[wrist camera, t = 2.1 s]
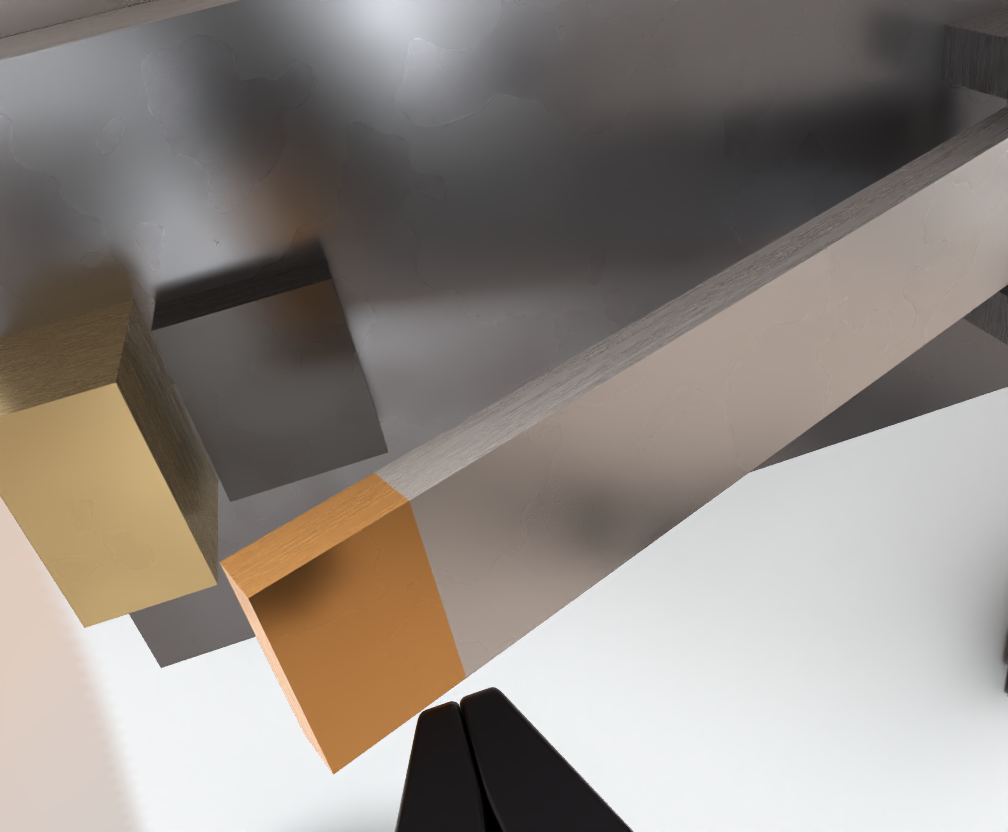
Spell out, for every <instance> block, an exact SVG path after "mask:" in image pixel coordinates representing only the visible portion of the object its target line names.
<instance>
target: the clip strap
mask: <svg viewBox="0 0 1008 832" xmlns="http://www.w3.org/2000/svg"><path fill="white" fill-rule="evenodd" d="M1006 285H1008V100H1007V104H1006V107H1004V108H1003V109H1001V110H999V111H997V112H996V113H994V114H992V115H990V116H989V117H987V118H985V119H984V120H982V121H980V122H978V123H977V124H975V125H973V126H971V127H970V128H968V129H966V130H965V131H963V132H961V133H959V134H958V135H956V136H954V137H952V138H951V139H949V140H947V141H946V142H944V143H942V144H940V145H939V146H937V147H935V148H934V149H932V150H930V151H928V152H927V153H925V154H923V155H921V156H920V157H918V158H916V159H915V160H913V161H911V162H909V163H908V164H906V165H904V166H902V167H901V168H899V169H897V170H896V171H894V172H892V173H890V174H889V175H887V176H885V177H883V178H882V179H880V180H878V181H877V182H875V183H873V184H871V185H870V186H868V187H866V188H864V189H863V190H861V191H859V192H858V193H856V194H854V195H852V196H851V197H849V198H847V199H845V200H844V201H842V202H840V203H839V204H837V205H835V206H833V207H832V208H830V209H828V210H826V211H825V212H823V213H821V214H820V215H818V216H816V217H814V218H813V219H811V220H809V221H807V222H806V223H804V224H802V225H801V226H799V227H797V228H795V229H794V230H792V231H790V232H788V233H787V234H785V235H783V236H782V237H780V238H778V239H776V240H775V241H773V242H771V243H770V244H768V245H766V246H764V247H763V248H761V249H759V250H757V251H756V252H754V253H752V254H751V255H749V256H747V257H745V258H744V259H742V260H740V261H738V262H737V263H735V264H733V265H732V266H730V267H728V268H726V269H725V270H723V271H721V272H719V273H718V274H716V275H714V276H713V277H711V278H709V279H707V280H706V281H704V282H702V283H700V284H699V285H697V286H695V287H694V288H692V289H690V290H688V291H687V292H685V293H683V294H681V295H680V296H678V297H676V298H675V299H673V300H671V301H669V302H668V303H666V304H664V305H662V306H661V307H659V308H657V309H656V310H654V311H652V312H650V313H649V314H647V315H645V316H643V317H642V318H640V319H638V320H637V321H635V322H633V323H631V324H630V325H628V326H626V327H624V328H623V329H621V330H619V331H618V332H616V333H614V334H612V335H611V336H609V337H607V338H605V339H604V340H602V341H600V342H599V343H597V344H595V345H593V346H592V347H590V348H588V349H587V350H585V351H583V352H581V353H580V354H578V355H576V356H574V357H573V358H571V359H569V360H568V361H566V362H564V363H562V364H561V365H559V366H557V367H555V368H554V369H552V370H550V371H549V372H547V373H545V374H543V375H542V376H540V377H538V378H536V379H535V380H533V381H531V382H530V383H528V384H526V385H524V386H523V387H521V388H519V389H517V390H516V391H514V392H512V393H511V394H509V395H507V396H505V397H504V398H502V399H500V400H498V401H497V402H495V403H493V404H492V405H490V406H488V407H486V408H485V409H483V410H481V411H479V412H478V413H476V414H474V415H473V416H471V417H469V418H467V419H466V420H464V421H462V422H460V423H459V424H457V425H455V426H454V427H452V428H450V429H448V430H447V431H445V432H443V433H441V434H440V435H438V436H436V437H435V438H433V439H431V440H429V441H428V442H426V443H424V444H422V445H421V446H419V447H417V448H416V449H414V450H412V451H410V452H409V453H407V454H405V455H404V456H402V457H400V458H398V459H397V460H395V461H393V462H391V463H390V464H388V465H386V466H385V467H383V468H381V469H379V470H378V471H376V472H374V473H372V474H371V475H369V476H367V477H366V478H364V479H362V480H360V481H359V482H357V483H355V484H353V485H352V486H350V487H348V488H347V489H345V490H343V491H341V492H340V493H338V494H336V495H334V496H333V497H331V498H329V499H328V500H326V501H324V502H322V503H321V504H319V505H317V506H315V507H314V508H312V509H310V510H309V511H307V512H305V513H303V514H302V515H300V516H298V517H296V518H295V519H293V520H291V521H290V522H288V523H286V524H284V525H283V526H281V527H279V528H277V529H276V530H274V531H272V532H271V533H269V534H267V535H265V536H264V537H262V538H260V539H258V540H257V541H255V542H253V543H252V544H250V545H248V546H246V547H245V548H243V549H241V550H240V551H238V552H236V553H234V554H233V555H231V556H229V557H227V558H226V559H224V560H222V561H221V562H220V564H221V566H222V568H223V570H224V572H225V574H226V576H227V578H228V580H229V582H230V585H231V587H232V589H233V591H234V593H235V595H236V597H237V599H238V601H239V603H240V605H241V607H242V609H243V611H244V613H245V615H246V617H247V619H248V621H249V623H250V625H251V627H252V629H253V631H254V633H255V635H256V637H257V639H258V641H259V643H260V645H261V647H262V649H263V651H264V653H265V655H266V657H267V659H268V661H269V664H270V666H271V668H272V670H273V672H274V674H275V676H276V678H277V680H278V682H279V684H280V686H281V688H282V690H283V692H284V694H285V696H286V698H287V700H288V702H289V704H290V706H291V708H292V710H293V712H294V714H295V716H296V718H297V720H298V722H299V724H300V726H301V728H302V730H303V732H304V734H305V736H306V737H307V739H308V740H309V741H310V743H311V744H312V745H313V747H314V748H315V750H316V751H317V752H318V754H319V755H320V757H321V758H322V759H323V761H324V762H325V763H326V765H327V766H328V768H329V769H330V770H331V772H332V773H333V774H335V773H336V772H337V771H339V770H340V769H342V768H343V767H344V766H346V765H347V764H348V763H350V762H351V761H353V760H354V759H355V758H357V757H358V756H359V755H361V754H362V753H364V752H365V751H366V750H368V749H369V748H371V747H372V746H373V745H375V744H376V743H377V742H379V741H380V740H382V739H383V738H384V737H386V736H387V735H388V734H390V733H391V732H393V731H394V730H395V729H397V728H398V727H399V726H401V725H402V724H404V723H405V722H406V721H408V720H409V719H410V718H412V717H413V716H415V715H416V714H417V713H419V712H420V711H421V710H423V709H424V708H426V707H427V706H428V705H430V704H431V703H432V702H434V701H435V700H437V699H438V698H439V697H441V696H442V695H443V694H445V693H446V692H448V691H449V690H450V689H452V688H453V687H454V686H456V685H457V684H459V683H460V682H461V681H463V680H464V679H465V678H467V677H468V676H470V675H471V674H472V673H474V672H475V671H476V670H478V669H479V668H481V667H482V666H483V665H485V664H486V663H487V662H489V661H490V660H492V659H493V658H494V657H496V656H497V655H498V654H500V653H501V652H503V651H504V650H505V649H507V648H508V647H509V646H511V645H512V644H514V643H515V642H516V641H518V640H519V639H521V638H522V637H523V636H525V635H526V634H527V633H529V632H530V631H532V630H533V629H534V628H536V627H537V626H538V625H540V624H541V623H543V622H544V621H545V620H547V619H548V618H549V617H551V616H552V615H554V614H555V613H556V612H558V611H559V610H560V609H562V608H563V607H565V606H566V605H567V604H569V603H570V602H571V601H573V600H574V599H576V598H577V597H578V596H580V595H581V594H582V593H584V592H585V591H587V590H588V589H589V588H591V587H592V586H593V585H595V584H596V583H598V582H599V581H600V580H602V579H603V578H604V577H606V576H607V575H609V574H610V573H611V572H613V571H614V570H615V569H617V568H618V567H620V566H621V565H622V564H624V563H625V562H626V561H628V560H629V559H631V558H632V557H633V556H635V555H636V554H637V553H639V552H640V551H642V550H643V549H644V548H646V547H647V546H648V545H650V544H651V543H653V542H654V541H655V540H657V539H658V538H659V537H661V536H662V535H664V534H665V533H666V532H668V531H669V530H670V529H672V528H673V527H675V526H676V525H677V524H679V523H680V522H682V521H683V520H684V519H686V518H687V517H688V516H690V515H691V514H693V513H694V512H695V511H697V510H698V509H699V508H701V507H702V506H704V505H705V504H706V503H708V502H709V501H710V500H712V499H713V498H715V497H716V496H717V495H719V494H720V493H721V492H723V491H724V490H726V489H727V488H728V487H730V486H731V485H732V484H734V483H735V482H737V481H738V480H739V479H741V478H742V477H743V476H745V475H746V474H748V473H749V472H750V471H752V470H753V469H754V468H756V467H757V466H759V465H760V464H761V463H763V462H764V461H765V460H767V459H768V458H770V457H771V456H772V455H774V454H775V453H776V452H778V451H779V450H781V449H782V448H783V447H785V446H786V445H787V444H789V443H790V442H792V441H793V440H794V439H796V438H797V437H798V436H800V435H801V434H803V433H804V432H805V431H807V430H808V429H809V428H811V427H812V426H814V425H815V424H816V423H818V422H819V421H820V420H822V419H823V418H825V417H826V416H827V415H829V414H830V413H831V412H833V411H834V410H836V409H837V408H838V407H840V406H841V405H843V404H844V403H845V402H847V401H848V400H849V399H851V398H852V397H854V396H855V395H856V394H858V393H859V392H860V391H862V390H863V389H865V388H866V387H867V386H869V385H870V384H871V383H873V382H874V381H876V380H877V379H878V378H880V377H881V376H882V375H884V374H885V373H887V372H888V371H889V370H891V369H892V368H893V367H895V366H896V365H898V364H899V363H900V362H902V361H903V360H904V359H906V358H907V357H909V356H910V355H911V354H913V353H914V352H915V351H917V350H918V349H920V348H921V347H922V346H924V345H925V344H926V343H928V342H929V341H931V340H932V339H933V338H935V337H936V336H937V335H939V334H940V333H942V332H943V331H944V330H946V329H947V328H948V327H950V326H951V325H953V324H954V323H955V322H957V321H958V320H959V319H961V318H962V317H964V316H965V315H966V314H968V313H969V312H970V311H972V310H973V309H975V308H976V307H977V306H979V305H980V304H981V303H983V302H984V301H986V300H987V299H988V298H990V297H991V296H993V295H994V294H995V293H997V292H998V291H999V290H1001V289H1002V288H1004V287H1005V286H1006Z"/></svg>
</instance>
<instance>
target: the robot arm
mask: <svg viewBox="0 0 1008 832" xmlns="http://www.w3.org/2000/svg"><path fill="white" fill-rule="evenodd" d="M395 832H633V831H632V829H631V828H630V827H629V826H628V825H627V824H626V823H625V822H624V821H623V820H622V819H621V818H620V817H619V816H618V815H617V814H616V813H615V811H614V810H613V809H612V808H611V807H610V806H609V805H608V804H607V803H606V802H605V801H604V800H603V799H602V798H601V797H600V796H599V795H598V793H597V792H596V791H595V790H594V789H593V788H592V787H591V786H590V785H589V784H588V783H587V782H586V781H585V780H584V779H583V778H582V777H581V775H580V774H579V773H578V772H577V771H576V770H575V769H574V768H573V767H572V766H571V765H570V764H569V763H568V762H567V761H566V760H565V758H564V757H563V756H562V755H561V754H560V753H559V752H558V751H557V750H556V749H555V748H554V747H553V746H552V745H551V744H550V743H549V742H548V740H547V739H546V738H545V737H544V736H543V735H542V734H541V733H540V732H539V731H538V730H537V729H536V728H535V727H534V726H533V725H532V724H531V722H530V721H529V720H528V719H527V718H526V717H525V716H524V715H523V714H522V713H521V712H520V711H519V710H518V709H517V708H516V707H515V706H514V704H513V703H512V702H511V701H510V700H509V699H508V698H507V697H506V696H505V695H504V694H503V693H502V692H501V691H500V690H499V689H497V688H494V687H491V688H488V689H485V690H482V691H479V692H476V693H473V694H470V695H468V696H465V697H463V698H462V700H461V701H460V706H459V704H458V703H457V702H453V701H450V702H447V703H445V704H442V705H439V706H436V707H433V708H430V709H427V710H425V711H423V712H422V713H421V714H420V716H419V718H418V721H417V725H416V730H415V735H414V740H413V745H412V750H411V755H410V760H409V765H408V770H407V774H406V779H405V784H404V789H403V794H402V799H401V804H400V809H399V814H398V819H397V824H396V828H395Z"/></svg>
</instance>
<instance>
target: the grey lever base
mask: <svg viewBox="0 0 1008 832" xmlns="http://www.w3.org/2000/svg"><path fill="white" fill-rule="evenodd" d="M1007 100H1008V0H153V1H149V2H145V3H141V4H137V5H133V6H129V7H125V8H121V9H117V10H113V11H109V12H105V13H101V14H97V15H93V16H89V17H85V18H81V19H77V20H73V21H69V22H65V23H60V24H56V25H52V26H48V27H44V28H40V29H36V30H32V31H28V32H24V33H20V34H16V35H12V36H8V37H4V38H0V496H1V498H2V499H3V501H4V502H5V504H6V506H7V507H8V509H9V510H10V512H11V513H12V515H13V516H14V518H15V520H16V521H17V523H18V524H19V526H20V527H21V529H22V531H23V532H24V534H25V535H26V537H27V538H28V540H29V542H30V543H31V545H32V546H33V548H34V549H35V551H36V553H37V554H38V556H39V557H40V559H41V560H42V562H43V563H44V565H45V567H46V568H47V570H48V571H49V573H50V574H51V576H52V578H53V579H54V581H55V582H56V584H57V585H58V587H59V589H60V590H61V592H62V593H63V595H64V596H65V598H66V599H67V601H68V603H69V604H70V606H71V607H72V609H73V610H74V612H75V614H76V615H77V617H78V618H79V620H80V621H81V623H82V625H83V626H84V628H86V627H89V626H92V625H95V624H98V623H101V622H104V621H107V620H110V619H113V618H116V617H120V616H123V615H126V614H129V615H130V616H131V618H132V620H133V621H134V623H135V625H136V626H137V628H138V630H139V632H140V633H141V635H142V637H143V638H144V640H145V642H146V643H147V645H148V647H149V648H150V650H151V652H152V653H153V655H154V657H155V658H156V660H157V662H158V664H159V665H160V667H161V668H162V667H165V666H168V665H171V664H174V663H177V662H180V661H183V660H186V659H189V658H192V657H196V656H199V655H202V654H205V653H208V652H211V651H214V650H217V649H220V648H223V647H226V646H229V645H232V644H235V643H238V642H241V641H244V640H247V639H250V638H253V637H256V635H255V633H254V631H253V629H252V627H251V625H250V623H249V621H248V619H247V617H246V615H245V613H244V611H243V609H242V607H241V605H240V603H239V601H238V599H237V597H236V595H235V593H234V591H233V589H232V587H231V585H230V582H229V580H228V578H227V576H226V574H225V572H224V570H223V568H222V566H221V564H220V562H221V561H222V560H224V559H226V558H227V557H229V556H231V555H233V554H234V553H236V552H238V551H240V550H241V549H243V548H245V547H246V546H248V545H250V544H252V543H253V542H255V541H257V540H258V539H260V538H262V537H264V536H265V535H267V534H269V533H271V532H272V531H274V530H276V529H277V528H279V527H281V526H283V525H284V524H286V523H288V522H290V521H291V520H293V519H295V518H296V517H298V516H300V515H302V514H303V513H305V512H307V511H309V510H310V509H312V508H314V507H315V506H317V505H319V504H321V503H322V502H324V501H326V500H328V499H329V498H331V497H333V496H334V495H336V494H338V493H340V492H341V491H343V490H345V489H347V488H348V487H350V486H352V485H353V484H355V483H357V482H359V481H360V480H362V479H364V478H366V477H367V476H369V475H371V474H372V473H374V472H376V471H378V470H379V469H381V468H383V467H385V466H386V465H388V464H390V463H391V462H393V461H395V460H397V459H398V458H400V457H402V456H404V455H405V454H407V453H409V452H410V451H412V450H414V449H416V448H417V447H419V446H421V445H422V444H424V443H426V442H428V441H429V440H431V439H433V438H435V437H436V436H438V435H440V434H441V433H443V432H445V431H447V430H448V429H450V428H452V427H454V426H455V425H457V424H459V423H460V422H462V421H464V420H466V419H467V418H469V417H471V416H473V415H474V414H476V413H478V412H479V411H481V410H483V409H485V408H486V407H488V406H490V405H492V404H493V403H495V402H497V401H498V400H500V399H502V398H504V397H505V396H507V395H509V394H511V393H512V392H514V391H516V390H517V389H519V388H521V387H523V386H524V385H526V384H528V383H530V382H531V381H533V380H535V379H536V378H538V377H540V376H542V375H543V374H545V373H547V372H549V371H550V370H552V369H554V368H555V367H557V366H559V365H561V364H562V363H564V362H566V361H568V360H569V359H571V358H573V357H574V356H576V355H578V354H580V353H581V352H583V351H585V350H587V349H588V348H590V347H592V346H593V345H595V344H597V343H599V342H600V341H602V340H604V339H605V338H607V337H609V336H611V335H612V334H614V333H616V332H618V331H619V330H621V329H623V328H624V327H626V326H628V325H630V324H631V323H633V322H635V321H637V320H638V319H640V318H642V317H643V316H645V315H647V314H649V313H650V312H652V311H654V310H656V309H657V308H659V307H661V306H662V305H664V304H666V303H668V302H669V301H671V300H673V299H675V298H676V297H678V296H680V295H681V294H683V293H685V292H687V291H688V290H690V289H692V288H694V287H695V286H697V285H699V284H700V283H702V282H704V281H706V280H707V279H709V278H711V277H713V276H714V275H716V274H718V273H719V272H721V271H723V270H725V269H726V268H728V267H730V266H732V265H733V264H735V263H737V262H738V261H740V260H742V259H744V258H745V257H747V256H749V255H751V254H752V253H754V252H756V251H757V250H759V249H761V248H763V247H764V246H766V245H768V244H770V243H771V242H773V241H775V240H776V239H778V238H780V237H782V236H783V235H785V234H787V233H788V232H790V231H792V230H794V229H795V228H797V227H799V226H801V225H802V224H804V223H806V222H807V221H809V220H811V219H813V218H814V217H816V216H818V215H820V214H821V213H823V212H825V211H826V210H828V209H830V208H832V207H833V206H835V205H837V204H839V203H840V202H842V201H844V200H845V199H847V198H849V197H851V196H852V195H854V194H856V193H858V192H859V191H861V190H863V189H864V188H866V187H868V186H870V185H871V184H873V183H875V182H877V181H878V180H880V179H882V178H883V177H885V176H887V175H889V174H890V173H892V172H894V171H896V170H897V169H899V168H901V167H902V166H904V165H906V164H908V163H909V162H911V161H913V160H915V159H916V158H918V157H920V156H921V155H923V154H925V153H927V152H928V151H930V150H932V149H934V148H935V147H937V146H939V145H940V144H942V143H944V142H946V141H947V140H949V139H951V138H952V137H954V136H956V135H958V134H959V133H961V132H963V131H965V130H966V129H968V128H970V127H971V126H973V125H975V124H977V123H978V122H980V121H982V120H984V119H985V118H987V117H989V116H990V115H992V114H994V113H996V112H997V111H999V110H1001V109H1003V108H1004V107H1006V104H1007ZM1005 387H1008V285H1006V286H1005V287H1004V288H1002V289H1001V290H999V291H998V292H997V293H995V294H994V295H993V296H991V297H990V298H988V299H987V300H986V301H984V302H983V303H981V304H980V305H979V306H977V307H976V308H975V309H973V310H972V311H970V312H969V313H968V314H966V315H965V316H964V317H962V318H961V319H959V320H958V321H957V322H955V323H954V324H953V325H951V326H950V327H948V328H947V329H946V330H944V331H943V332H942V333H940V334H939V335H937V336H936V337H935V338H933V339H932V340H931V341H929V342H928V343H926V344H925V345H924V346H922V347H921V348H920V349H918V350H917V351H915V352H914V353H913V354H911V355H910V356H909V357H907V358H906V359H904V360H903V361H902V362H900V363H899V364H898V365H896V366H895V367H893V368H892V369H891V370H889V371H888V372H887V373H885V374H884V375H882V376H881V377H880V378H878V379H877V380H876V381H874V382H873V383H871V384H870V385H869V386H867V387H866V388H865V389H863V390H862V391H860V392H859V393H858V394H856V395H855V396H854V397H852V398H851V399H849V400H848V401H847V402H845V403H844V404H843V405H841V406H840V407H838V408H837V409H836V410H834V411H833V412H831V413H830V414H829V415H827V416H826V417H825V418H823V419H822V420H820V421H819V422H818V423H816V424H815V425H814V426H812V427H811V428H809V429H808V430H807V431H805V432H804V433H803V434H801V435H800V436H798V437H797V438H796V439H794V440H793V441H792V442H790V443H789V444H787V445H786V446H785V447H783V448H782V449H781V450H779V451H778V452H776V453H775V454H774V455H772V456H771V457H770V458H768V459H767V460H765V461H764V462H763V463H761V464H760V465H759V466H757V467H756V468H754V469H753V470H752V471H755V470H758V469H761V468H764V467H767V466H770V465H773V464H776V463H779V462H782V461H785V460H788V459H791V458H794V457H797V456H800V455H803V454H806V453H809V452H812V451H815V450H818V449H821V448H824V447H827V446H830V445H833V444H836V443H839V442H842V441H845V440H848V439H851V438H854V437H857V436H860V435H863V434H866V433H869V432H872V431H876V430H879V429H882V428H885V427H888V426H891V425H894V424H897V423H900V422H903V421H906V420H909V419H912V418H915V417H918V416H921V415H924V414H927V413H930V412H933V411H936V410H939V409H942V408H945V407H948V406H951V405H954V404H957V403H960V402H963V401H966V400H969V399H972V398H975V397H978V396H981V395H984V394H987V393H990V392H993V391H996V390H999V389H1002V388H1005ZM752 471H750V472H752Z"/></svg>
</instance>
